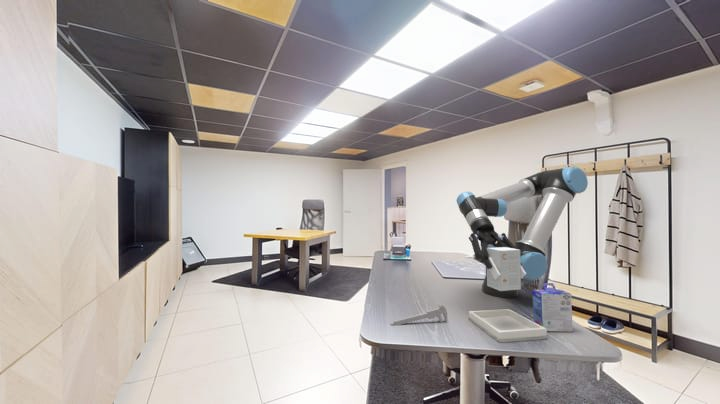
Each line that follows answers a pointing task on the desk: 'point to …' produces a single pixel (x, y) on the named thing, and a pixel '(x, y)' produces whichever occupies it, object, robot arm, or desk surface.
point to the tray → (507, 325)
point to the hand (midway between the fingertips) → (510, 276)
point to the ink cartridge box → (552, 308)
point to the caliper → (424, 316)
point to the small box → (505, 268)
